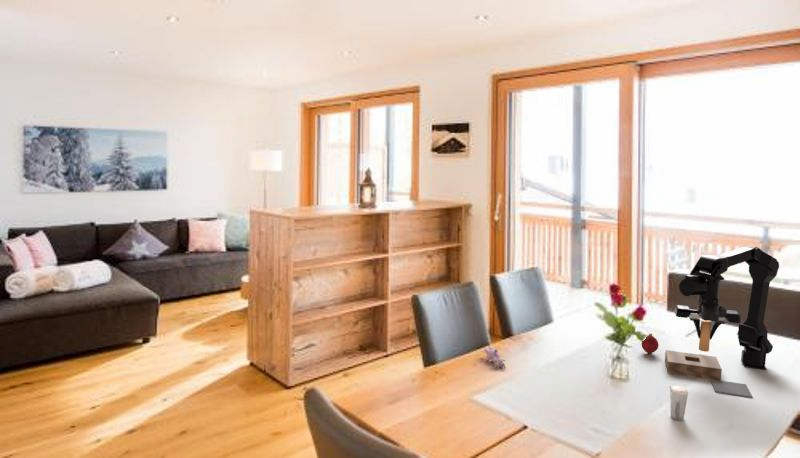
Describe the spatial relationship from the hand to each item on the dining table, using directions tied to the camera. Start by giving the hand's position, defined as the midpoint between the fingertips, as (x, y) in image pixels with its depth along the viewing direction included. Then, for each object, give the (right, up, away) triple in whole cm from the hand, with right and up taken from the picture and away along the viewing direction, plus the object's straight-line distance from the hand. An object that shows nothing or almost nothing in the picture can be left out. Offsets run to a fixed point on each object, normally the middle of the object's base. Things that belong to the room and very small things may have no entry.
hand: (704, 338), depth 180 cm
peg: (0, -4, 0) cm, 4 cm away
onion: (-9, -10, +21) cm, 25 cm away
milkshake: (-25, -17, -29) cm, 41 cm away
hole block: (-1, -12, +6) cm, 14 cm away
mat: (+3, -14, -9) cm, 17 cm away
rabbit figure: (-69, -11, +12) cm, 71 cm away
